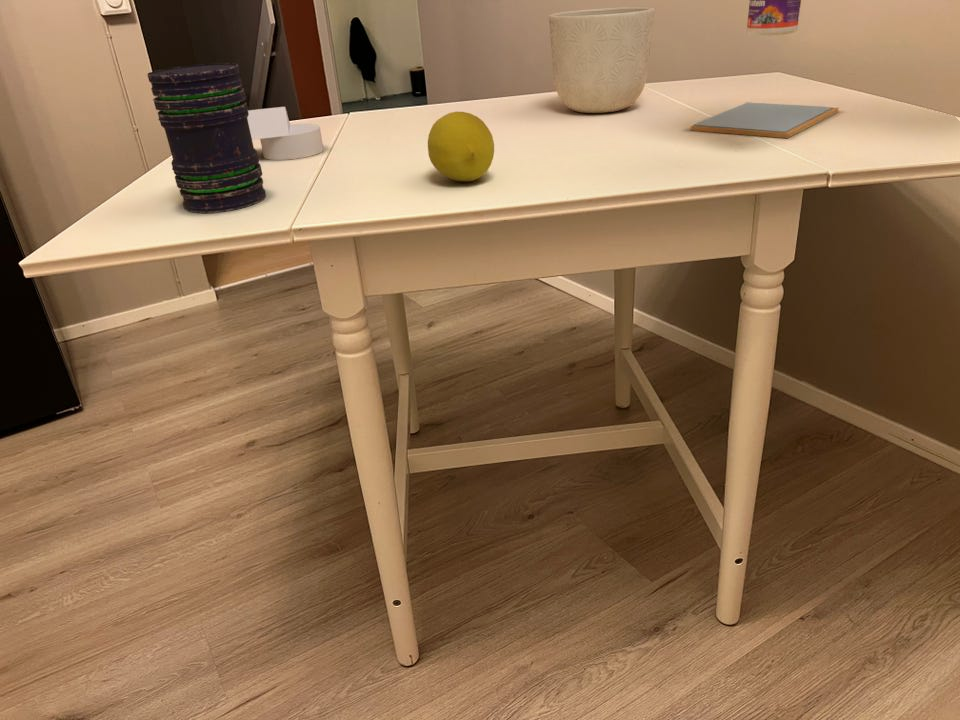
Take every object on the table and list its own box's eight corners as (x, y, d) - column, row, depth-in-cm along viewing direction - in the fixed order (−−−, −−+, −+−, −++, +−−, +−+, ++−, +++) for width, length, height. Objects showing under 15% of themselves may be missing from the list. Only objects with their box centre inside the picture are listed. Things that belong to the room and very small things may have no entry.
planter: (646, 98, 128) (651, 5, 121) (652, 116, 114) (658, 11, 106) (553, 102, 131) (551, 11, 124) (547, 120, 116) (545, 18, 109)
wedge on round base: (234, 165, 102) (324, 155, 104) (222, 117, 99) (316, 107, 101) (239, 153, 110) (322, 143, 112) (228, 108, 107) (315, 99, 109)
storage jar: (239, 185, 92) (210, 62, 85) (283, 195, 86) (256, 63, 79) (167, 206, 85) (129, 74, 78) (209, 218, 79) (172, 76, 72)
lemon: (503, 186, 83) (500, 115, 79) (438, 194, 82) (431, 123, 78) (485, 166, 92) (481, 101, 88) (426, 173, 91) (419, 108, 87)
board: (838, 111, 107) (839, 106, 106) (787, 138, 94) (788, 132, 94) (747, 106, 115) (748, 101, 115) (690, 130, 103) (690, 124, 102)
